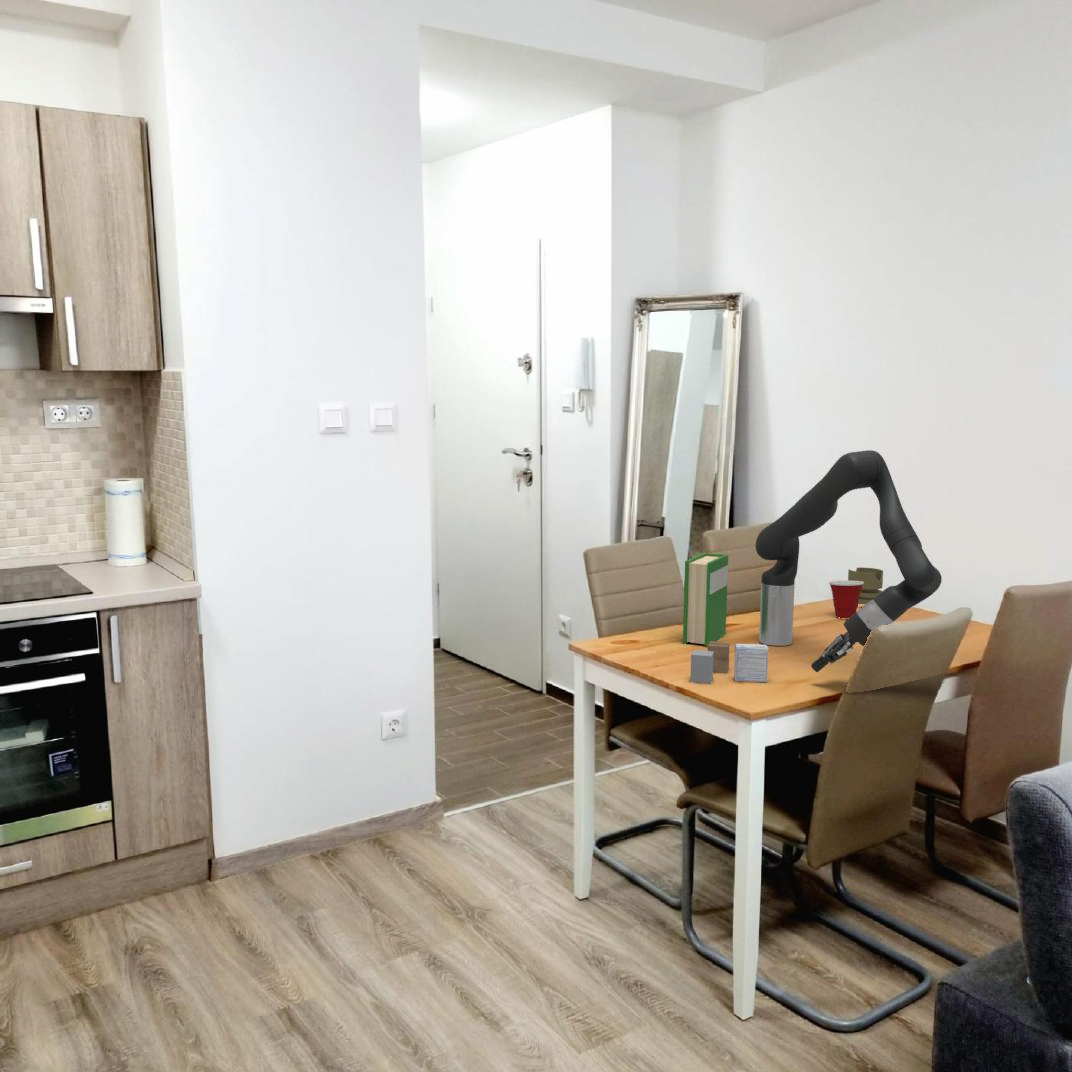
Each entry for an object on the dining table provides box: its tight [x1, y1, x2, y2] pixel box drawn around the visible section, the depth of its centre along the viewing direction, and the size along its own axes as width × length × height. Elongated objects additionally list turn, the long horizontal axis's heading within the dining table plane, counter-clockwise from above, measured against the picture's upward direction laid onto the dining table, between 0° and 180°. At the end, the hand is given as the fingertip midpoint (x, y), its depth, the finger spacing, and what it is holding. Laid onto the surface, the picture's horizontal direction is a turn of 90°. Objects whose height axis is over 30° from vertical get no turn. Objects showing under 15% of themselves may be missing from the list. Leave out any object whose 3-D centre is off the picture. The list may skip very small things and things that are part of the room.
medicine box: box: [733, 643, 769, 683], centre depth 255 cm, size 8×4×9 cm, turn 83°
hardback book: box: [682, 552, 729, 648], centre depth 297 cm, size 18×7×24 cm, turn 154°
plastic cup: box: [828, 580, 864, 618], centre depth 329 cm, size 11×11×12 cm
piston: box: [847, 567, 884, 604], centre depth 351 cm, size 11×12×11 cm
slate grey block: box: [689, 649, 714, 685], centre depth 254 cm, size 5×5×7 cm
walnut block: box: [707, 641, 731, 675], centre depth 263 cm, size 5×5×7 cm
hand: (813, 668), depth 250 cm, fingers closed
